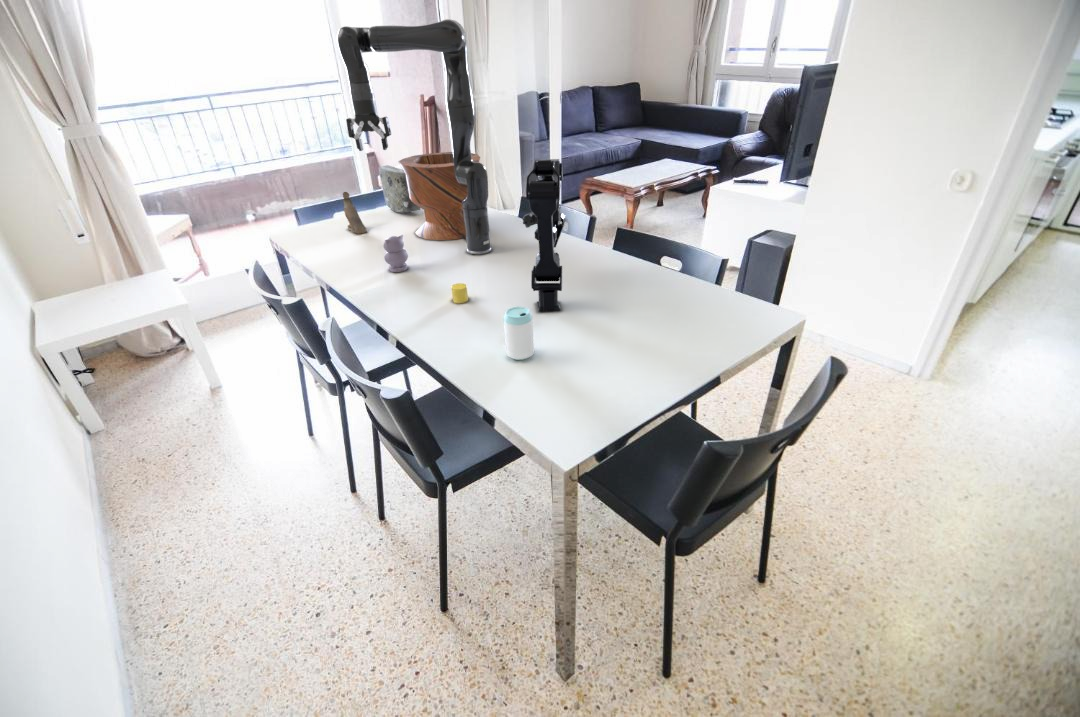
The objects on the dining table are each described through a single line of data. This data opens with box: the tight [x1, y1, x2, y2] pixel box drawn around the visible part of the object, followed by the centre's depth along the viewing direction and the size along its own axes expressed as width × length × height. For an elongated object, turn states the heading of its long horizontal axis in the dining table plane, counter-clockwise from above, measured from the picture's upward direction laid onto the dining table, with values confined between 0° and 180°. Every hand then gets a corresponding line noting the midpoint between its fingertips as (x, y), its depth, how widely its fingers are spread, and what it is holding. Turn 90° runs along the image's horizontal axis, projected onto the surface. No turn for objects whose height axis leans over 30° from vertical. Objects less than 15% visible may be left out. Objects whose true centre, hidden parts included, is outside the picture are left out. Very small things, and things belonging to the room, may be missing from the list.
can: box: [503, 306, 535, 361], centre depth 123 cm, size 7×7×12 cm
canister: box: [450, 282, 469, 304], centre depth 155 cm, size 5×5×5 cm
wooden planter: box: [398, 151, 481, 241], centre depth 212 cm, size 34×35×29 cm
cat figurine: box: [382, 234, 409, 273], centre depth 178 cm, size 8×8×12 cm
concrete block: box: [378, 164, 421, 214], centre depth 245 cm, size 27×9×20 cm, turn 39°
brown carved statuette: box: [342, 191, 368, 235], centre depth 221 cm, size 12×6×18 cm, turn 37°
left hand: (373, 150), depth 174 cm, fingers open, 8 cm apart
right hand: (551, 252), depth 159 cm, fingers open, 9 cm apart
